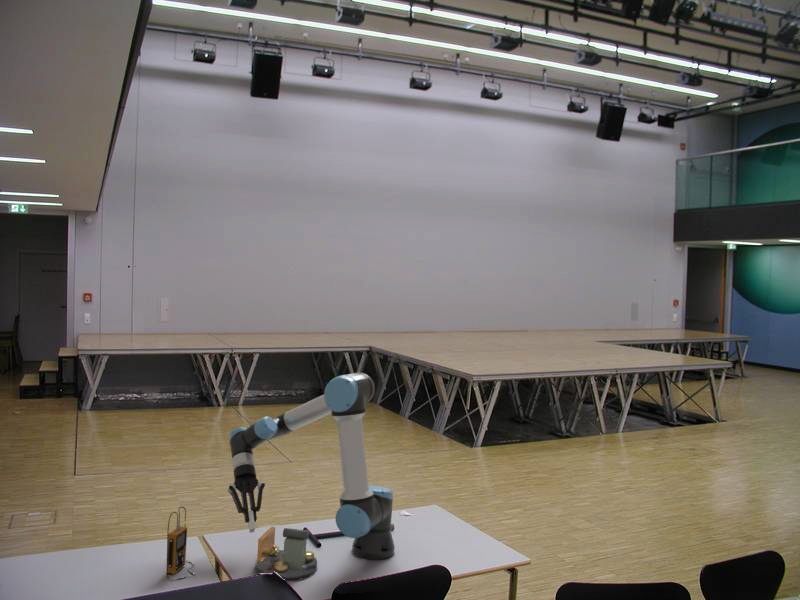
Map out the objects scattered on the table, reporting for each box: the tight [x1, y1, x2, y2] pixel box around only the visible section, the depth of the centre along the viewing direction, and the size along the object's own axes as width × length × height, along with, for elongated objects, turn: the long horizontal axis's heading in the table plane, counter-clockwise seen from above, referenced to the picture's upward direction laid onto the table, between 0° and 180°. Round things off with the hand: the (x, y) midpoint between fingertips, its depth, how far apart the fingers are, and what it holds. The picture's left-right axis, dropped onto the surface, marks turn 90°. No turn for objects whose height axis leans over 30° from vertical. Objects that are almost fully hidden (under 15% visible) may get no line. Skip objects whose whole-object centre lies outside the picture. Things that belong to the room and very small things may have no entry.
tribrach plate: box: [255, 549, 318, 582], centre depth 233 cm, size 20×20×4 cm
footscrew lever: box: [256, 526, 280, 562], centre depth 232 cm, size 15×4×10 cm, turn 170°
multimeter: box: [166, 506, 188, 578], centre depth 225 cm, size 15×10×20 cm
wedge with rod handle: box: [282, 527, 310, 570], centre depth 230 cm, size 8×6×12 cm
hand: (252, 530), depth 237 cm, fingers closed
